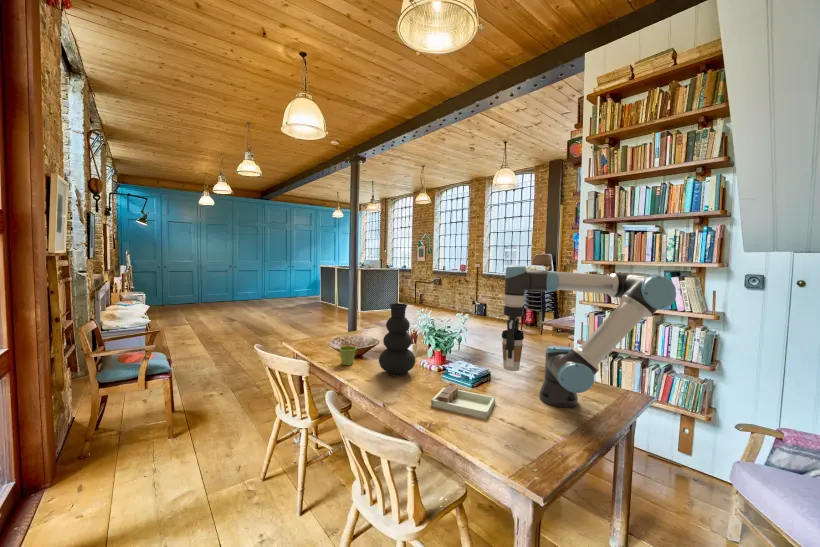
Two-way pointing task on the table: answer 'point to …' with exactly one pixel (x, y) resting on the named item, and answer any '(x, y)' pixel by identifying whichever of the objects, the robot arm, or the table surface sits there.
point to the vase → (397, 343)
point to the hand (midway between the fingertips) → (511, 363)
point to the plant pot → (347, 354)
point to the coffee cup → (517, 350)
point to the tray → (467, 404)
